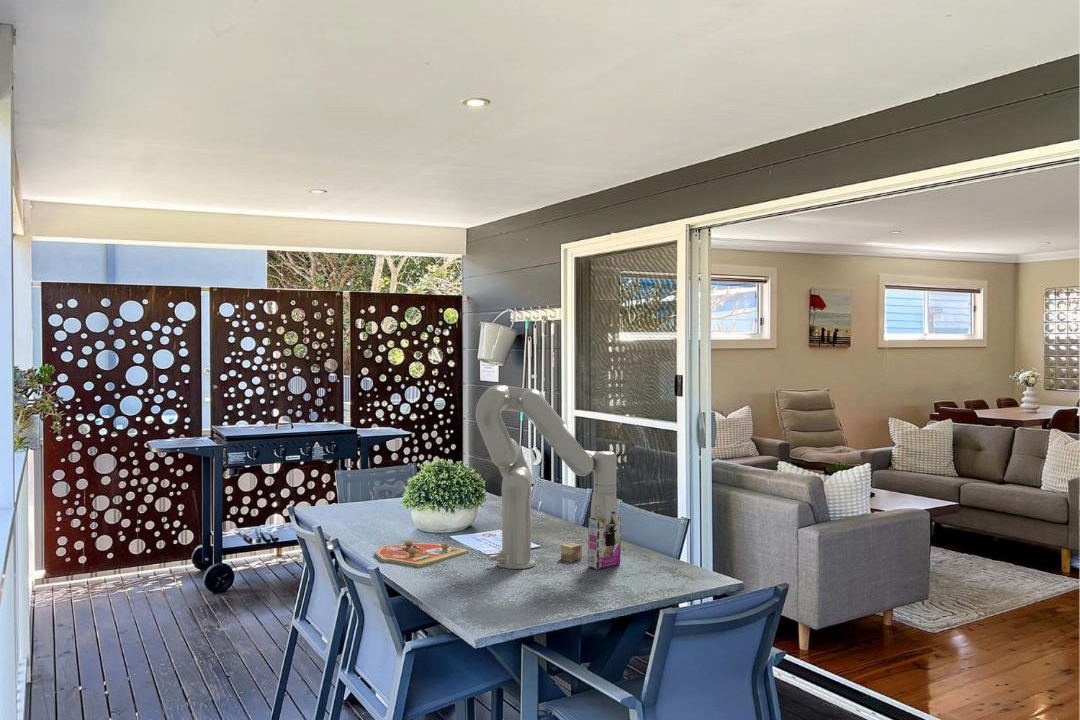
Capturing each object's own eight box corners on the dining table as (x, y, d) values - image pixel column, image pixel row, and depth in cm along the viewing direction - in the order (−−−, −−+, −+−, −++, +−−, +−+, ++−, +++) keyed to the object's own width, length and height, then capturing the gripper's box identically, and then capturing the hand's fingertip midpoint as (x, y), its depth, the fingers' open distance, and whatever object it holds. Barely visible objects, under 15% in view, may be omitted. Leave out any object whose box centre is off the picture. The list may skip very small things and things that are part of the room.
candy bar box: (598, 570, 278) (598, 519, 277) (587, 567, 281) (587, 517, 281) (621, 564, 285) (621, 515, 285) (610, 561, 289) (610, 513, 289)
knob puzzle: (417, 570, 278) (417, 556, 278) (352, 558, 294) (352, 545, 294) (472, 552, 303) (472, 540, 303) (409, 542, 319) (409, 530, 319)
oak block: (571, 562, 289) (571, 547, 289) (560, 559, 292) (560, 544, 292) (581, 559, 292) (581, 545, 292) (571, 557, 296) (571, 542, 296)
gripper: (581, 486, 289) (581, 539, 289) (609, 493, 274) (609, 550, 274) (600, 484, 292) (600, 537, 293) (629, 492, 277) (628, 547, 277)
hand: (604, 543), depth 283 cm, fingers closed on candy bar box, 5 cm apart
